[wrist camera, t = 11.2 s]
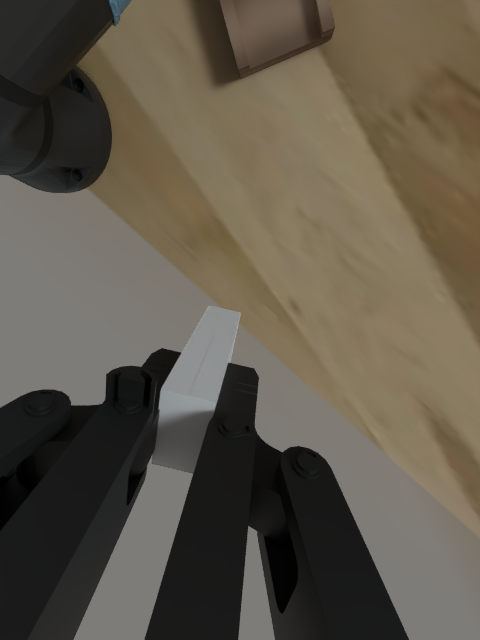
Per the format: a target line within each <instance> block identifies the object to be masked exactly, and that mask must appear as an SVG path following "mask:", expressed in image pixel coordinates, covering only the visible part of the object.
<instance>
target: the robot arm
mask: <svg viewBox="0 0 480 640" xmlns="http://www.w3.org/2000/svg"><path fill="white" fill-rule="evenodd" d="M131 1H132V0H0V175H9V176H11V177H13V178H15V179H17V180H19V181H21V182H23V183H25V184H27V185H29V186H31V187H33V188H36V189H38V190H42V191H46V192H52V193H69V192H70V193H71V192H75V191H80V190H82V189H84V188H86V187H88V186H90V185H91V184H92V183H93V182H95V181H96V180H97V179H98V177H99V176H100V175H101V173H102V172H103V170H104V169H105V166H106V164H107V162H108V159H109V156H110V151H111V143H112V131H111V123H110V118H109V114H108V111H107V108H106V105H105V102H104V100H103V98H102V96H101V94H100V92H99V91H98V89H97V87H96V86H95V84H94V83H93V82H92V80H91V79H90V78H89V77H88V76H87V75H86V74H85V73H84V72H83V71H82V70H81V69H80V68H79V67H78V66H76V65H77V64H78V62H79V61H80V60H81V59H82V58H83V57H84V56H85V55H86V54H87V52H88V51H89V50H90V49H91V48H92V47H93V46H94V45H95V44H96V42H97V41H98V40H99V39H100V38H101V37H102V36H103V35H104V33H105V32H106V31H107V30H108V29H109V28H110V27H111V26H112V25H114V26H116V25H117V24H118V23H119V21H120V15H121V13H122V12H123V11H124V10H125V8H126V7H127V6H128V5H129V3H130V2H131ZM240 316H241V313H240V312H236V311H232V310H227V309H223V308H218V307H214V306H208V308H207V310H206V311H205V313H204V315H203V316H202V318H201V320H200V322H199V323H198V325H197V327H196V329H195V331H194V332H193V334H192V336H191V337H190V339H189V341H188V343H187V345H186V346H185V348H184V350H183V352H182V353H180V352H175V351H172V350H167V349H163V348H162V349H159V350H158V351H156V352H154V353H152V354H151V355H150V356H149V358H148V359H147V360H146V362H145V363H144V364H143V366H142V367H136V366H124V367H119V368H117V369H113V370H112V371H110V372H109V373H108V374H107V375H106V398H105V401H104V402H103V403H102V404H100V405H90V406H71V402H70V399H69V397H68V396H67V395H66V394H65V393H63V392H61V391H56V390H38V391H33V392H30V393H27V394H25V395H23V396H20V397H19V398H17V399H15V400H14V401H12V402H10V403H8V404H6V405H5V406H3V407H1V408H0V640H73V639H74V637H75V635H76V632H77V630H78V628H79V626H80V623H81V621H82V619H83V617H84V614H85V612H86V610H87V608H88V605H89V603H90V601H91V599H92V596H93V594H94V592H95V590H96V588H97V585H98V583H99V581H100V579H101V577H102V574H103V572H104V570H105V568H106V565H107V563H108V561H109V559H110V556H111V554H112V552H113V550H114V547H115V545H116V543H117V541H118V539H119V536H120V534H121V532H122V529H123V527H124V525H125V523H126V521H127V518H128V516H129V514H130V512H131V509H132V507H133V505H134V503H135V500H136V498H137V496H138V493H139V492H140V489H141V487H142V485H143V483H144V480H145V476H146V471H147V464H148V462H149V460H150V458H151V456H152V454H153V457H152V464H156V465H160V466H164V467H168V468H173V469H177V470H181V471H185V472H189V473H193V477H192V480H191V484H190V487H189V490H188V494H187V497H186V501H185V504H184V508H183V511H182V515H181V518H180V521H179V524H178V528H177V531H176V535H175V538H174V542H173V545H172V548H171V552H170V555H169V558H168V562H167V565H166V568H165V572H164V575H163V579H162V582H161V586H160V589H159V592H158V596H157V599H156V603H155V606H154V609H153V613H152V616H151V619H150V623H149V626H148V630H147V633H146V636H145V640H238V635H239V622H240V612H241V601H242V589H243V578H244V566H245V555H246V543H247V532H248V526H250V527H251V528H253V529H255V530H256V531H257V536H258V542H259V548H260V554H261V559H262V565H263V571H264V577H265V583H266V588H267V595H268V600H269V606H270V612H271V617H272V624H273V630H274V636H275V640H409V638H408V636H407V634H406V632H405V630H404V627H403V625H402V623H401V621H400V619H399V617H398V614H397V612H396V610H395V608H394V606H393V604H392V601H391V599H390V597H389V594H388V593H387V590H386V588H385V586H384V583H383V581H382V579H381V577H380V575H379V572H378V570H377V568H376V566H375V564H374V561H373V560H372V557H371V555H370V553H369V551H368V548H367V546H366V544H365V542H364V540H363V537H362V535H361V533H360V531H359V529H358V526H357V524H356V522H355V520H354V518H353V515H352V513H351V511H350V509H349V507H348V504H347V502H346V500H345V498H344V496H343V493H342V491H341V489H340V487H339V485H338V482H337V480H336V478H335V476H334V474H333V471H332V469H331V467H330V466H329V464H328V463H327V461H326V460H325V459H324V458H323V457H322V456H321V455H319V454H318V453H316V452H315V451H313V450H311V449H308V448H304V447H300V446H297V447H290V448H288V449H287V450H285V451H284V452H283V453H282V452H280V451H279V450H277V449H275V448H273V447H271V446H269V445H268V444H266V443H265V442H264V441H263V440H262V439H261V438H260V437H259V435H258V434H257V432H256V429H255V412H256V401H257V391H258V380H259V377H258V375H257V373H256V371H255V369H254V368H249V367H245V366H240V365H237V364H232V363H230V362H231V357H232V352H233V348H234V343H235V339H236V334H237V329H238V325H239V320H240Z"/></svg>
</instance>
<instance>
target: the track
mask: <svg viewBox="0 0 480 640" xmlns="http://www.w3.org/2000/svg"><path fill="white" fill-rule="evenodd" d="M220 4H221V8H222V11H223V15H224V19H225V22H226V26H227V30H228V34H229V37H230V41H231V45H232V48H233V52H234V56H235V59H236V63H237V67H238V70H239V73H240V76H241V78H243V77H245V76H248V75H250V74H252V73H254V72H257V71H259V70H261V69H264V68H266V67H268V66H271V65H273V64H275V63H277V62H280V61H282V60H284V59H287V58H289V57H291V56H294V55H296V54H298V53H301V52H303V51H305V50H307V49H310V48H312V47H314V46H317V45H319V44H321V43H324V42H326V41H328V40H330V39H331V38H332V35H333V32H334V29H335V25H334V19H333V14H332V8H331V3H330V0H220Z"/></svg>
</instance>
